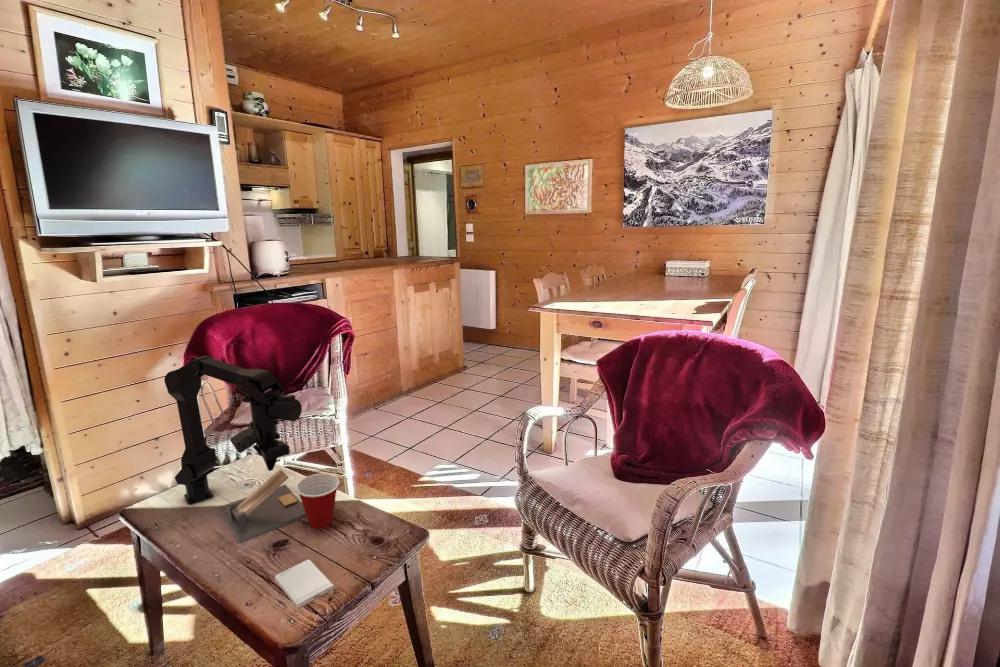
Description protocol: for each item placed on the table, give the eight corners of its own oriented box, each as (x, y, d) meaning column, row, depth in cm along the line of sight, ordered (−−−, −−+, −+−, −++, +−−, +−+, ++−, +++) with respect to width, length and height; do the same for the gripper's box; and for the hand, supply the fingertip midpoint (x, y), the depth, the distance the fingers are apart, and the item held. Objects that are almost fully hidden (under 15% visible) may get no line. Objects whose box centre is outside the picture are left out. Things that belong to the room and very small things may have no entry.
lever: (234, 515, 137) (230, 511, 136) (283, 471, 144) (279, 467, 143) (239, 523, 133) (235, 519, 133) (289, 478, 140) (285, 474, 140)
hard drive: (274, 575, 113) (297, 604, 105) (309, 558, 119) (334, 584, 110) (275, 581, 114) (298, 610, 105) (310, 564, 119) (334, 590, 111)
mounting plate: (219, 509, 142) (217, 496, 141) (285, 487, 153) (283, 474, 152) (239, 543, 127) (236, 528, 126) (310, 515, 138) (308, 501, 137)
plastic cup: (316, 541, 127) (311, 498, 124) (292, 526, 133) (287, 485, 131) (351, 520, 136) (347, 479, 133) (326, 507, 142) (322, 468, 139)
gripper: (222, 415, 137) (229, 467, 141) (240, 436, 124) (248, 493, 127) (265, 405, 145) (271, 455, 148) (287, 424, 131) (293, 478, 134)
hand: (270, 470), depth 139 cm, fingers closed
